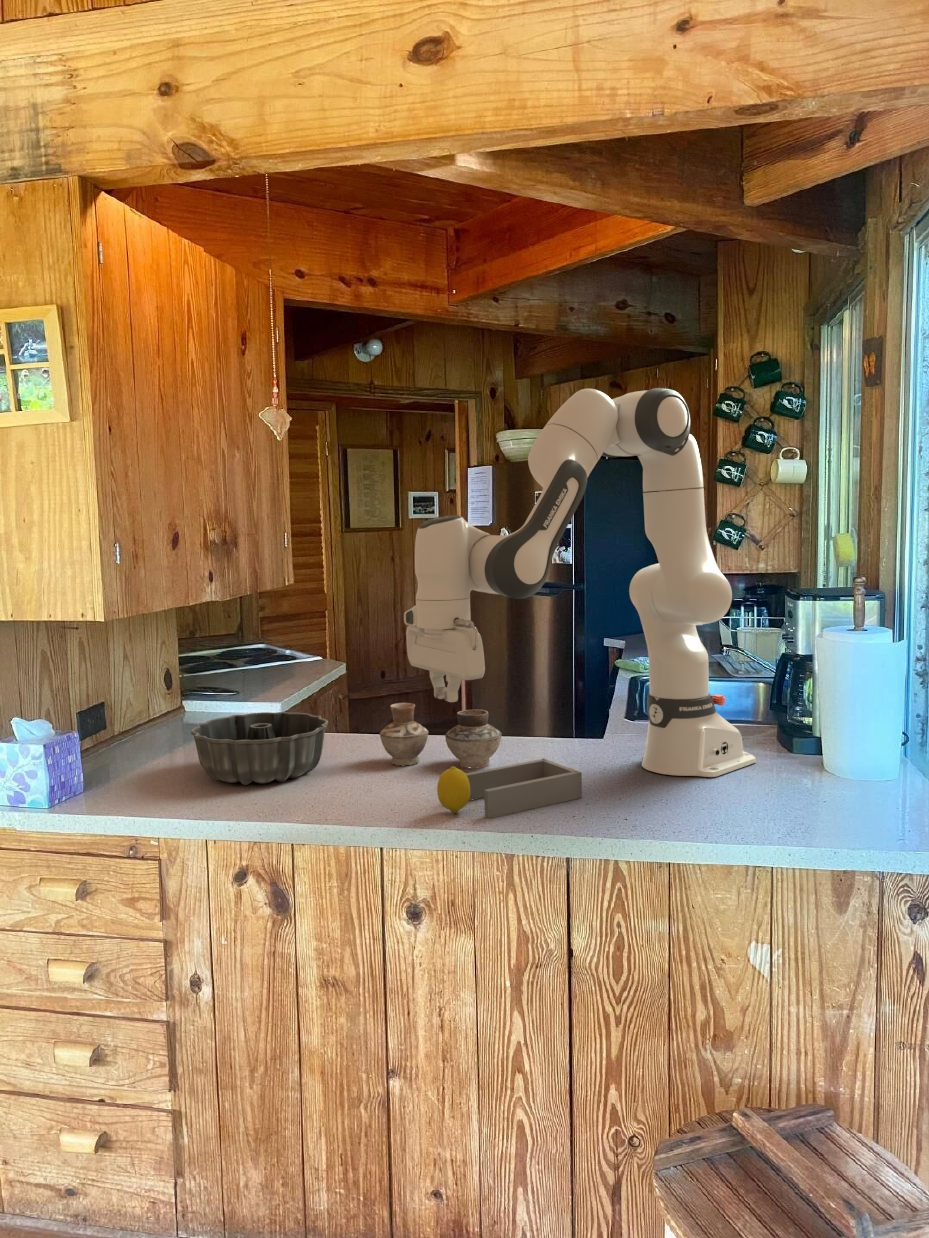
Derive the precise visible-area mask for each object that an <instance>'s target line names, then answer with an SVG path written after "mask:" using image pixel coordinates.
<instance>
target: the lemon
mask: <svg viewBox="0 0 929 1238" xmlns="http://www.w3.org/2000/svg"><path fill="white" fill-rule="evenodd" d="M436 790H437V791H436V792H437V793H436V794H437V799H438V800H439V803H440V805H442V807H443V808H445V809H446V810H449V811H450V812H451V813H452V814H457V813H458V812H459V811H460V810H461V809H463V808H465V806H466V805H467V804H468V803H469V801H470V800H469V798H470V783H469V780H468V777H467V775H466V772H464V771H463V770H462V769H459V768H457V767H456V766H454V765H453V766H450V768H448V769H446V770H444V771H443V772H442V773H441V775H440V776H439V778H438V781H437V787H436Z"/></svg>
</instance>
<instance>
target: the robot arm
mask: <svg viewBox="0 0 929 1238" xmlns="http://www.w3.org/2000/svg"><path fill="white" fill-rule="evenodd" d="M602 456H603V457H607V458H618V457H634V456H637V458H638V459H639V461H640V464H641V467H642V496H643V497H642V498H643V499H642V500H643V515H644V516H643V517H644V531H645V535H646V538H647V539H648V540H649V541H650V543H651V544H652V546H653V548H654V551H655V554H656V557H657V561H658V563H654V564H651V565H648V566H646V567H643V568H641V569H639V570H638V571H637V572H636V573H635V574H634V576H633V577H632V579H631V580H630V583H629V589H628V592H629V599H630V601H631V603H632V604H633V606H634V607H635V610H636V611H637V613H638V616H639V619H640V624H641V626H642V630H643V633H644V638H645V639H644V640H645V643H646V648H647V654H648V673H649V674H648V676H649V677H648V679H649V680H648V681H649V683H648V684H649V685H648V686H649V692H648V693H647V696H646V697H647V700H646V706H647V707H646V708H647V709H646V711H647V717H648V725H647V734H646V740H645V741H646V743H645V747H644V754H643V758H642V761H641V767H642V768H644V769H645V770H647V771H649V772H653V773H657V774H661V775H669V776H680V777H681V776H682V777H683V776H684V777H685V776H687V777H689V776H690V777H692V776H693V777H704V778H707V777H708V778H716V777H719V776H721V775H725V774H727V773H730V772H733V771H735V770H738V769H742V768H743V767H744V768H745V767H747V766H749V765H752V764H755V763H756V762H757V760H756V759H757V757H756V756H755V755H753V754H751V753H749V752H747V751H744V745H743V744H744V743H743V738H742V737H743V736H742V734H741V732H740V730H739V729H737V727H736V726H734V725H733V724H731V723H730V722H729V721H727V720H726V719H725V718H724V717H722V716H721V714H719V713H718V712H717V709H716V706H715V705H718V706H721V707H722V706H724V705H725V703H726V701H727V697H725V695H724V694H723V695H722V694H714V695H711V694H710V693H709V691H710V690H709V689H710V687H709V682H710V681H709V679H710V678H709V669H710V668H709V654H708V651H707V649H706V647H705V646H704V644H703V643H702V641H701V639H700V636H699V633H698V631H697V626H702V625H707V624H712V623H716V622H718V621H719V620H721V619H723V617H725V615H726V614H727V613H728V612H729V609H730V608H731V605H732V602H733V601H732V600H733V591H732V586H731V583H730V582H729V580H728V579H727V578H726V577H725V575H724V574H723V573H722V571H721V570H720V568H719V566H718V563H717V561H716V559H715V556H714V553H713V549H712V547H711V543H710V540H709V535H708V532H707V525H706V524H707V522H706V509H705V508H706V505H705V490H704V475H703V467H702V461H701V457H700V452H699V447H698V444H697V441H696V439H695V437H694V436H693V435H692V434H691V414H690V411H689V407H688V404H687V403H686V400H685V398H683V396H682V395H681V394H680V393H679V392H677V391H676V390H673V389H670V388H663V387H661V388H660V387H657V388H656V387H655V388H651V389H649V390H639V391H632V392H628V393H626V394H623V395H621V396H617V397H614V398H611V397H609V395H607V394H606V393H604V392H602V391H601V390H598V389H595V388H582V389H579V390H578V391H576V392H574V393H573V394H572V395H571V396H570V397H568V399H567V400H566V401H565V402H564V403H563V404H562V405H561V406H560V407H559V408H558V410H557V411H556V412H555V413H554V414H553V415H552V417H550V419H549V420H548V421H547V423H546V424H545V425H544V427H543V429H541V431H540V433H539V434H538V435H537V437H536V439H535V440H534V442H533V444H532V446H531V448H530V451H529V453H528V456H527V461H528V462H527V463H528V468H529V472H530V473H531V475H532V477H533V479H534V480H535V481H536V482H537V484H538V485H540V487H542V490H541V493H540V495H539V497H538V499H537V500H536V503H535V504H534V505H533V508H532V510H531V511H530V513H529V515H528V516H527V518H526V520H525V522H524V523H523V525H522V526H521V527H520V528H519V529H517V530H516V531H514V532H512V533H509V534H506V535H501V534H500V535H497V534H490V533H489V532H486V531H483V530H481V529H479V528H478V527H475V526H473V525H472V524H470V523H469V522H468V521H467V520H465V519H464V517H463V516H461V515H458V514H457V515H454V514H451V515H450V514H449V515H445V516H437V517H434V518H433V517H432V518H429V519H426V520H425V521H423V522H422V523H421V524H420V525H419V526H418V528H417V531H416V535H415V540H414V541H415V543H414V573H415V577H416V581H417V590H416V593H415V605H413V606H412V607H411V608H409V609H408V610H406V611H405V612H404V613H403V622H404V624H405V625H407V627H406V631H405V635H406V638H405V639H406V651H407V659H408V662H409V664H410V665H411V666H412V667H414V668H415V667H416V668H419V669H423V670H426V671H429V678H430V682H431V684H432V687H433V696H434V698H435V699H438V700H443V699H444V701H446V702H449V703H455V702H458V700H459V691H460V690H459V689H460V687H461V684H462V682H463V681H462V680H464V681H472V680H480V679H483V677H484V675H485V673H486V672H485V671H486V665H485V664H486V663H485V653H484V645H483V640H482V636H481V634H480V633H479V631H478V628H477V627H476V626H475V623H474V621H472V620H471V618H472V617H471V592H472V591H474V592H475V591H476V592H480V593H486V594H493V595H501V596H504V597H507V598H511V599H515V600H524V599H528V598H529V597H532V596H534V595H535V594H536V593H538V591H540V590H541V589H542V587H543V586H544V584H545V582H546V581H547V579H548V575H549V573H550V569H551V565H552V560H553V557H554V554H555V552H556V549H557V546H558V545H559V542H560V541H561V539H562V537H563V535H564V533H565V531H566V529H567V527H568V526H569V524H570V522H571V520H572V518H573V517H574V514H575V512H576V511H577V509H578V507H579V505H580V503H581V501H582V499H583V497H584V494H585V492H586V489H587V484H588V478H589V476H590V474H591V472H592V471H593V469H594V468H595V466H596V464H597V463H598V461H600V459H601V457H602ZM444 677H445V679H444ZM445 681H446V682H447V686H446V683H445Z"/></svg>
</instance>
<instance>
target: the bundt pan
mask: <svg viewBox="0 0 929 1238" xmlns="http://www.w3.org/2000/svg"><path fill="white" fill-rule="evenodd" d="M195 725H196V726H195V727H193V728H192V729H191V731H190V734H191V736H193V738H194V742H195V747H196V752H197V756H198V760H199V763H200V765H201V767H202V768H203V770H204V772H205V773H206V774H207V776H209V777H210V778H211V779H214V780H216V781H221V782H225V783H229V784H235V783H236V784H237V783H241V784H242V785H244V786H248V785H250V784H251V783H252V782H254V783H257V784H267V783H268V784H269V783H270V782H272V781H274V780H275V781H276V782H279V783H283V782H285V781H286V780H287V779H294V778H299V777H300V776H303V775H306V774H308V773H310V772H312V771H313V770H314V769H316V767H317V766H318V765H319V763H320V761H321V758H322V753H323V748H324V741H325V735H326V733H325V732H326V730H327V727H328V725H329V721H328V719H326V718H322V716H321V715H313V714H310V713H305V712H287V711H277V712H268V711H267V712H265V711H264V712H252V713H251V712H250V713H244V714H232V715H230V716H226V717H225V716H224V717H218V718H213V719H210V720H207V721H205V722H203V723H202V722H201V723H197V724H195Z"/></svg>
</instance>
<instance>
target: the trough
mask: <svg viewBox="0 0 929 1238" xmlns="http://www.w3.org/2000/svg"><path fill="white" fill-rule="evenodd" d="M465 774H466V775H467V777H468V780H469V783H470V798H469V801H472V799H474V800H477V799H476V798H478V799H482V798H481V797H483V798H484V817H485V818H488V819H492V818H495V817H501V816H505V815H509V814H515V813H519V812H523V811H524V812H525V811H528V810H531V809H532V810H533V809H537V808H542V807H545V806H550V805H555V804H559V803H564V802H567V801H573V800H578V799H582V797H583V783H582V771H579V770H575V769H573V768H570V767H568V766H565V765H562V764H559V763H557V762H554V761H551V760H548V759H546V758H540V759H539V758H538V759H535V760H534V759H533V760H530V761H529V760H528V761H525V762H524V761H523V762H520V763H519V762H518V763H514V764H509V765H503V766H499V767H498V766H497V767H493V768H492V767H491V768H489V769H488V768H487V769H483V770H477V771H473V772H472V771H471V772H468V773H467V772H465Z"/></svg>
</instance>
